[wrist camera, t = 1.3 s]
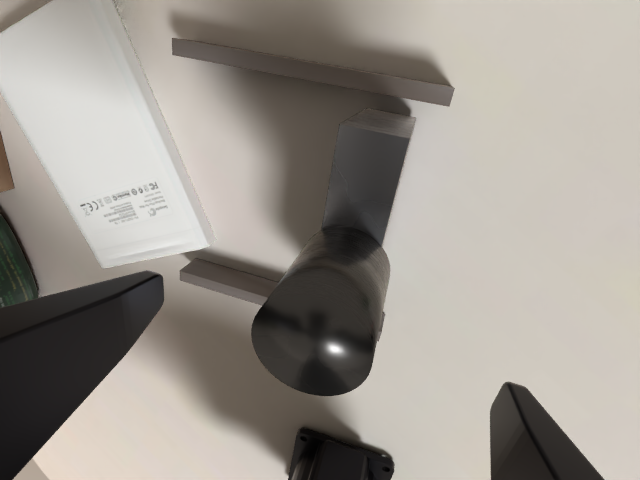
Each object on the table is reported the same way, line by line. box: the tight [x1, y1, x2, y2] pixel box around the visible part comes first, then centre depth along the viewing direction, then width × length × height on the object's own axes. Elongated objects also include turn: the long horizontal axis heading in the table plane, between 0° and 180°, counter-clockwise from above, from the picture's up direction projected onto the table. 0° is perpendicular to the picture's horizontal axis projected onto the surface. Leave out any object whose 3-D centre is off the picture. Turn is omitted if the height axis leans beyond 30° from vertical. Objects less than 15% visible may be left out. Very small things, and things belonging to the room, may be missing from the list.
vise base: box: [0, 38, 455, 341], centre depth 17 cm, size 12×26×3 cm, turn 81°
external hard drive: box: [0, 0, 217, 269], centre depth 19 cm, size 2×8×12 cm
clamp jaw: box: [251, 108, 416, 396], centre depth 12 cm, size 9×3×9 cm, turn 171°
